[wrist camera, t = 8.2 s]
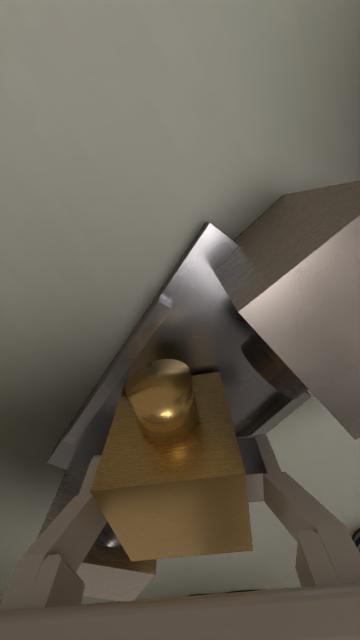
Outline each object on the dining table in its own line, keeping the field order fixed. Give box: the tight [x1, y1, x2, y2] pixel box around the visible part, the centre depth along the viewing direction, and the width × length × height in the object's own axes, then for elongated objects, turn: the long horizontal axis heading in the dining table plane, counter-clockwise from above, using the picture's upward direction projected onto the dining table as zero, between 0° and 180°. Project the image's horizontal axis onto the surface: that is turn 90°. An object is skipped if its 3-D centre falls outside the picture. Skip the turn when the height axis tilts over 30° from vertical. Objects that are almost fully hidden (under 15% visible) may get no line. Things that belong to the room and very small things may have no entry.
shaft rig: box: [36, 181, 360, 601], centre depth 11 cm, size 23×9×6 cm, turn 146°
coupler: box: [90, 359, 253, 561], centre depth 10 cm, size 9×5×5 cm, turn 10°
